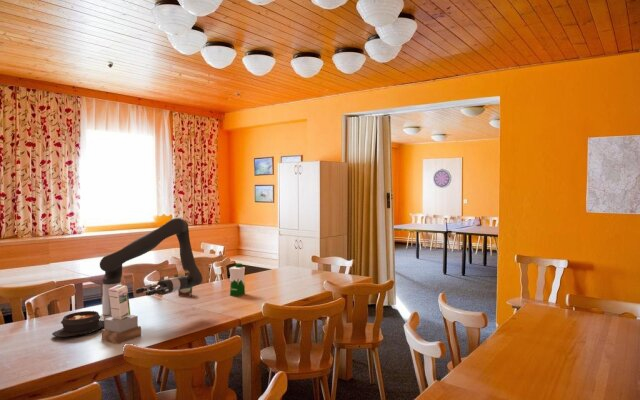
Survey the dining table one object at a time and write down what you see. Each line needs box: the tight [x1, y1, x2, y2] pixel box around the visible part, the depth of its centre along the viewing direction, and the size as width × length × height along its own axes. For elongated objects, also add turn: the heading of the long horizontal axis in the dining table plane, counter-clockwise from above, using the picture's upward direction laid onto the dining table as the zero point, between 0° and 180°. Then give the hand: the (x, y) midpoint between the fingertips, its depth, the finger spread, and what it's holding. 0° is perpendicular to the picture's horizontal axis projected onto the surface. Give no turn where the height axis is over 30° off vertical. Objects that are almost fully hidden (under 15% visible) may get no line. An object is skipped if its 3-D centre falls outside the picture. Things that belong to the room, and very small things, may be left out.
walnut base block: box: [101, 325, 142, 345], centre depth 196 cm, size 12×12×5 cm
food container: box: [177, 287, 193, 298], centre depth 277 cm, size 12×6×10 cm, turn 65°
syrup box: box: [108, 284, 131, 320], centre depth 194 cm, size 6×6×14 cm
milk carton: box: [228, 262, 246, 297], centre depth 276 cm, size 9×9×20 cm
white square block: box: [103, 314, 139, 333], centre depth 196 cm, size 10×10×5 cm
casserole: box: [51, 310, 105, 338], centre depth 205 cm, size 25×19×8 cm
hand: (141, 292), depth 205 cm, fingers open, 8 cm apart
